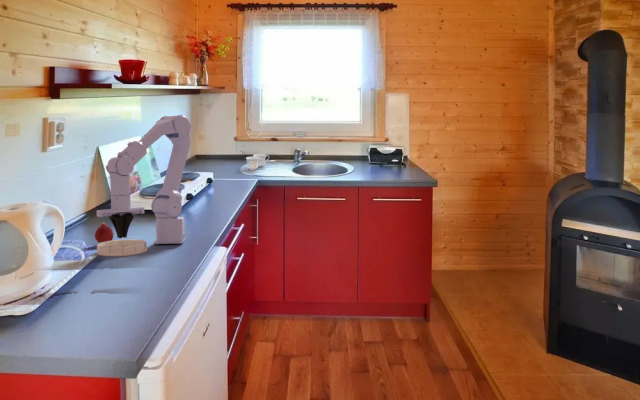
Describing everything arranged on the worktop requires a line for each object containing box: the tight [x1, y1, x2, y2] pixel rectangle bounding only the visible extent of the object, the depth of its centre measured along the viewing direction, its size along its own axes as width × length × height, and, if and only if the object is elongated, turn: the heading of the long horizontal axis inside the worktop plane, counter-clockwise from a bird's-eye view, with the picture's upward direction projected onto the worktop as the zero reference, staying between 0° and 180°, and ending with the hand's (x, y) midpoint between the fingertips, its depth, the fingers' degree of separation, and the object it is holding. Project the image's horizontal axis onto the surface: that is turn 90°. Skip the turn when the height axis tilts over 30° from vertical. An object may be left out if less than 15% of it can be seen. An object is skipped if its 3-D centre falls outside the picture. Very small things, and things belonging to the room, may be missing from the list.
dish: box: [96, 239, 148, 258], centre depth 155 cm, size 15×15×3 cm
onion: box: [94, 222, 114, 244], centre depth 165 cm, size 6×6×8 cm
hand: (122, 237), depth 155 cm, fingers closed
